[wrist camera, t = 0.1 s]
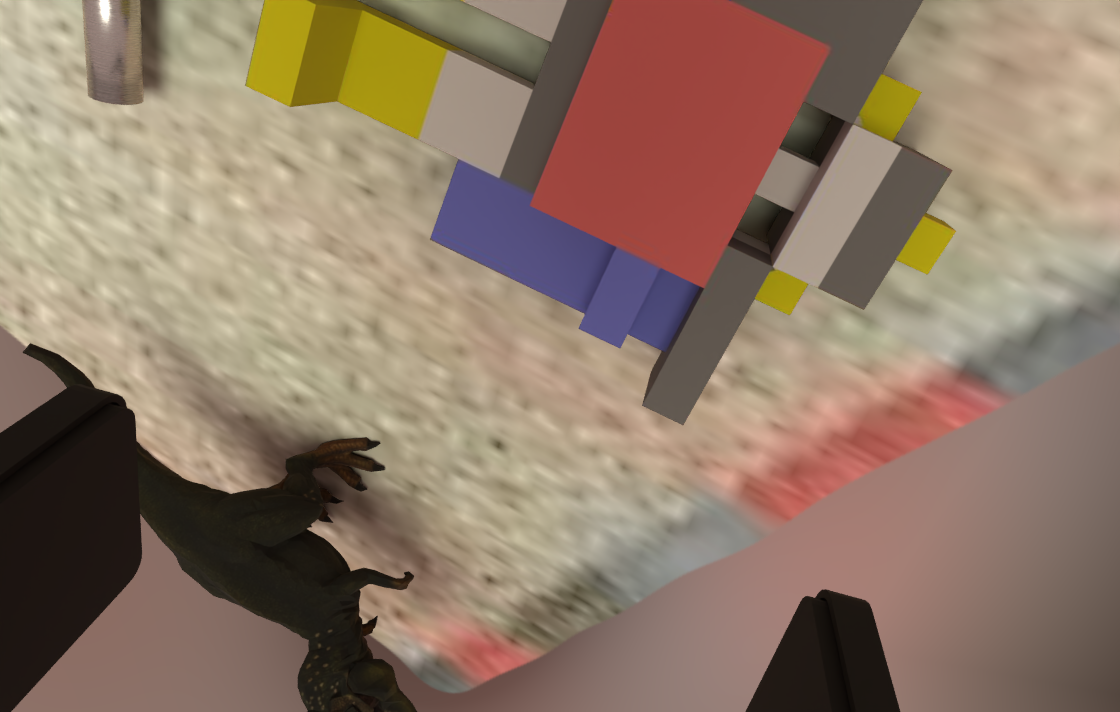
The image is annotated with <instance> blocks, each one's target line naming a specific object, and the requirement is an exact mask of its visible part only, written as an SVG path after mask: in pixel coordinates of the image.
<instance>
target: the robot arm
mask: <svg viewBox="0 0 1120 712" xmlns="http://www.w3.org/2000/svg"><path fill="white" fill-rule="evenodd" d="M141 558H142V543H141V523H140V503H139V483H138V463H137V443H136V423H135V415H134V413H133V411H132V410H130V409H128V408H127V407H126V402H125V400H124V399H123V397H122V396H120V395H118V394H114V393H110V392H107V391H103V390H100V389H96V388H92V387H89V386H85V385H81V384H77V385H73V386H70V387H68V388H67V389H65V390H64V391H62V392H61V393H59V394H58V395H56V396H55V397H53V398H52V399H50V400H49V401H47V402H46V403H44V404H43V405H41V406H40V407H38V408H37V409H35V410H34V411H32V412H31V413H29V414H28V415H26V416H25V417H23V418H22V419H21V420H19V421H17V422H16V423H15V424H13V425H12V426H10V427H9V428H7V429H6V430H4V431H3V432H1V433H0V712H11V711H12V710H13V709H14V708H15V707H16V706H17V705H18V703H19V702H20V701H21V700H22V699H23V698H24V697H25V696H26V695H27V693H29V691H30V690H31V689H32V688H33V687H34V686H35V685H36V684H37V683H38V681H39V680H40V679H41V678H42V677H43V676H44V675H45V674H46V673H47V672H48V671H49V670H50V669H51V667H52V666H53V665H54V664H55V663H56V662H57V661H58V660H59V659H60V658H61V657H62V655H63V654H64V653H65V652H66V651H67V650H68V649H69V648H70V647H71V646H72V644H73V643H74V642H75V641H76V640H77V639H78V638H79V637H80V636H81V635H82V634H83V632H84V631H85V630H86V629H87V628H88V627H89V626H90V625H91V624H92V623H93V622H94V620H95V619H96V618H97V617H98V616H99V615H100V614H101V613H102V612H103V611H104V610H105V609H106V607H107V606H108V605H109V604H110V603H111V602H112V601H113V600H114V599H115V598H116V597H117V595H118V594H119V593H120V592H121V591H122V590H123V589H124V588H125V587H126V585H127V584H128V583H129V582H130V581H131V580H132V578H133V577H134V576H135V574H136V572H137V570H138V568H139V565H140V562H141ZM746 712H900V709H899V705H898V702H897V698H896V695H895V691H894V687H893V684H892V680H891V677H890V673H889V669H888V666H887V662H886V659H885V655H884V651H883V648H882V644H881V641H880V637H879V633H878V630H877V627H876V623H875V619H874V616H873V612H872V609H871V607H870V604H869V603H868V602H867V601H865V600H862V599H859V598H855V597H851V596H848V595H844V594H840V593H837V592H833V591H830V590H821V591H820V592H819V593H818V594H817V596H816V597H815V598H813V597H809V596H805V597H804V598H803V599H802V601H801V602H800V604H799V606H798V608H797V610H796V612H795V614H794V616H793V618H792V620H791V622H790V624H789V626H788V628H787V630H786V632H785V634H784V636H783V638H782V640H781V642H780V644H779V646H778V648H777V650H776V652H775V654H774V656H773V658H772V660H771V662H770V664H769V666H768V668H767V670H766V672H765V674H764V676H763V678H762V680H761V682H760V684H759V686H758V688H757V690H756V692H755V694H754V696H753V698H752V700H751V702H750V704H749V706H748V708H747V710H746Z"/></svg>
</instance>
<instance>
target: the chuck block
mask: <svg viewBox="0 0 1120 712" xmlns="http://www.w3.org/2000/svg"><path fill="white" fill-rule="evenodd" d="M82 6H83V22H84V38H85V54H86V70H87V86H88V96H89V97H90V98H92V99H95V100H98V101H101V102H106V103H112V104H121V105H133V104H139V103H142V102H143V101H144V100H143V66H142V33H141V0H82Z"/></svg>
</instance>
